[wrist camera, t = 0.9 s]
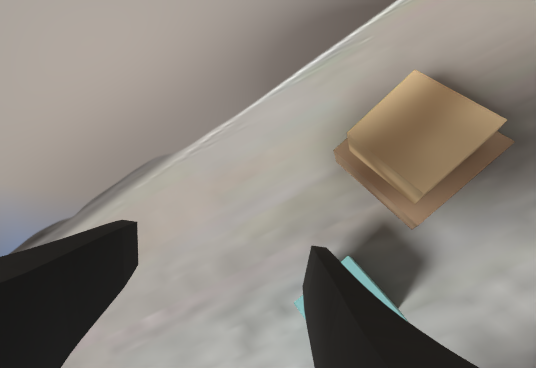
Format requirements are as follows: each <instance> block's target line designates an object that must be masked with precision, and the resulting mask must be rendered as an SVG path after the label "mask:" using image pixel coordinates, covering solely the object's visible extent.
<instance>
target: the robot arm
mask: <svg viewBox="0 0 536 368" xmlns="http://www.w3.org/2000/svg"><path fill="white" fill-rule="evenodd" d="M137 266H138V237H137V222H134V221H127V220H119V221H115V222H112V223H108V224H105V225H102V226H99V227H96V228H93V229H90V230H87V231H84V232H81V233H78V234H75V235H72V236H69V237H66V238H63V239H60V240H57V241H53V242H50V243H47V244H44V245H40V246H37V247H34V248H31V249H27V250H24V251H20V252H17V253H13V254H9V255H5V256H2V257H0V368H61V366H62V365H63V364H64V362H65V361H66V359H67V358H68V356H69V355H70V353H71V352H72V351H73V349H74V348H75V347H76V346H77V344H78V343H79V342H80V340H81V339H82V338H83V337H84V335H85V334H86V333H87V332H88V331H89V329H90V328H91V327H92V326H93V325H94V323H95V322H96V321H97V320H98V318H99V317H100V316H101V315H102V314H103V312H104V311H105V310H106V309H107V308H108V306H109V305H110V304H111V303H112V302H113V300H114V299H115V298H116V297H117V295H118V294H119V293H120V292H121V290H122V289H123V288H124V287H125V285H126V284H127V282H128V280H129V279H130V277H131V276H132V274H133V272H134V271H135V269H136V267H137ZM303 301H304V312H305V318H306V323H307V329H308V334H309V340H310V345H311V350H312V355H313V361H314V366H315V368H479V367H477V366H475V365H474V364H472V363H470V362H469V361H467V360H465V359H463V358H462V357H460V356H458V355H457V354H455V353H454V352H452V351H450V350H449V349H447V348H446V347H444V346H442V345H441V344H439V343H438V342H436V341H435V340H433V339H432V338H430V337H429V336H427V335H426V334H424V333H423V332H422V331H420V330H419V329H417V328H416V327H414V326H413V325H412V324H410V323H409V322H407V321H406V320H405V319H403V318H402V317H401V316H400V315H398V314H397V313H396V312H394V311H393V310H392V309H391V308H389V307H388V306H387V305H386V304H384V303H383V302H382V301H381V300H380V299H378V298H377V297H376V296H375V295H374V294H373V293H372V292H371V291H369V290H368V289H367V288H366V287H365V286H364V285H363V284H362V283H361V282H360V281H359V280H358V279H357V278H356V277H355V276H354V275H353V274H352V273H351V272H350V271H349V270H348V269H347V268H346V267H345V266H344V265H343V264H342V263H341V262H340V261H339V260H338V259H337V258H336V257H335V256H334V255H333V254H332V253H331V252H330V251H329V250H328V249H327V248H325V247H318V246H311V251H310V255H309V260H308V265H307V269H306V274H305V278H304V283H303Z"/></svg>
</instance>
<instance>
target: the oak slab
mask: <svg viewBox="0 0 536 368" xmlns="http://www.w3.org/2000/svg"><path fill="white" fill-rule="evenodd" d="M506 121H507V119H505V118H503V117H501V116H499V115H497V114H496V113H494V112H492V111H490V110H488V109H486V108H485V107H483V106H481V105H479V104H477V103H475V102H474V101H472V100H470V99H468V98H466V97H464V96H463V95H461V94H459V93H457V92H455V91H453V90H452V89H450V88H448V87H446V86H444V85H442V84H441V83H439V82H437V81H435V80H433V79H432V78H430V77H428V76H426V75H424V74H422V73H421V72H419V71H417V70H414V71H413V72H412V73H410V74H409V75H408V76H407V77H406V78H405V79H404V80H403V81H402V82H401V83H400V84H399V85H398V86H397V87H395V88H394V89H393V90H392V91H391V92H390V93H389V94H388V95H387V96H386V97H385V98H384V99H383V100H381V101H380V102H379V103H378V104H377V105H376V106H375V107H374V108H373V109H372V110H371V111H370V112H369V113H368V114H366V115H365V116H364V117H363V118H362V119H361V120H360V121H359V122H358V123H357V124H356V125H355V126H354V127H353V128H351V129H350V130H349V131H348V132H347V137H348V144H349V150H350V151H351V152H352V153H353V154H354V155H356V156H357V157H358V158H359V159H360V160H361V161H363V162H364V163H365V164H366V165H367V166H369V167H370V168H371V169H372V170H374V171H375V172H376V173H377V174H378V175H380V176H381V177H382V178H383V179H384V180H386V181H387V182H388V183H389V184H390V185H392V186H393V187H394V188H395V189H396V190H398V191H399V192H400V193H401V194H402V195H404V196H405V197H406V198H407V199H408V200H410V201H411V202H412V203H413V204H414V205H415V204H416V203H417V202H418V201H420V200H421V199H422V198H423V197H424V196H425V195H426V194H428V193H429V192H430V191H431V190H432V189H433V188H434V187H435V186H437V185H438V184H439V183H440V182H441V181H442V180H443V179H445V178H446V177H447V176H448V175H449V174H450V173H451V172H452V171H454V170H455V169H456V168H457V167H458V166H459V165H460V164H462V163H463V162H464V161H465V160H466V159H467V158H468V157H469V156H471V155H472V154H473V153H474V152H475V151H476V150H477V149H479V148H480V147H481V146H482V145H483V144H484V143H485V142H486V141H487V140H488V139H489V138H490V137H491V136H492V135H493V134H494V133H495V132H496V131H497V130H498V129H499V128H500V127H501V126H502V125H503V124H504V123H505V122H506Z"/></svg>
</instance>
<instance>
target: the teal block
mask: <svg viewBox="0 0 536 368" xmlns="http://www.w3.org/2000/svg"><path fill="white" fill-rule="evenodd" d="M341 263H342V264H343V265H344V266H345V267H346V268H347V269H348V270H349V271H350V272H351V273H352V274H353V275H354V276H355V277H356V278H357V279H358V280H359V281H360V282H361V283H362V284H363V285H364V286H365V287H366V288H367V289H368V290H369V291H371V292H372V293H373V294H374V295H375V296H376V297H377V298H378V299H380V300H381V301H382V302H383V303H384V304H386V305H387V306H388V307H389V308H391V309H392V310H393V311H394V312H396V313H397V314H398V315H400V316H401V317H402V318H403V319H405V320H406V318H405V317H404V316H403V314H402V313H401V312H400V310H399V309H398V308H397V307H396V306H395V305H394V303H393V302H392V301H391V300H390V299H389V298H388V297H387V296H386V295H385V294H384V292H383V291H382V290H381V289H380V288H379V287H378V286H377V285H376V284H375V282H374V281H373V280H372V279H371V278H370V277H369V276H368V275H367V274H366V273H365V271H364V270H363V269H362V268H361V267H360V266H359V265H358V264H357V263H356V261H355V260H354V259H353V258H352V257H350V256H347V257H346V258H345V259H344V260H343V261H341ZM294 304H295V306H296V307H297V308H298V310H299V311H300V313H301V314H302V315H303V317H304V318H305V312H304V301H303V295H302V296H301V297H300V298H299V299H298V300H296V301H295V302H294ZM305 320H306V318H305ZM406 321H407V320H406ZM407 322H408V321H407Z"/></svg>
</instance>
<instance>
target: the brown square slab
mask: <svg viewBox="0 0 536 368" xmlns="http://www.w3.org/2000/svg"><path fill="white" fill-rule="evenodd" d="M514 142H515V141H513V140H511V139H510V138H508V137H506V136H504V135H503V134H501V133H499V132H498V131H496V132H495V133H494V134H493V135H492V136H491V137H490V138H489V139H488V140H487V141H486V142H485V143H484V144H483V145H482V146H481V147H480V148H479V149H477V150H476V151H475V152H474V153H473V154H472V155H471V156H469V157H468V158H467V159H466V160H465V161H464V162H463V163H462V164H460V165H459V166H458V167H457V168H456V169H455V170H454V171H452V172H451V173H450V174H449V175H448V176H447V177H446V178H445V179H443V180H442V181H441V182H440V183H439V184H438V185H437V186H435V187H434V188H433V189H432V190H431V191H430V192H429V193H428V194H426V195H425V196H424V197H423V198H422V199H421V200H420V201H418V202H417V203H416V204H415V205H414V204H413V203H412V202H411V201H410V200H408V199H407V198H406V197H405V196H404V195H402V194H401V193H400V192H399V191H398V190H396V189H395V188H394V187H393V186H392V185H390V184H389V183H388V182H387V181H386V180H384V179H383V178H382V177H381V176H380V175H378V174H377V173H376V172H375V171H374V170H372V169H371V168H370V167H369V166H367V165H366V164H365V163H364V162H363V161H361V160H360V159H359V158H358V157H357V156H356V155H354V154H353V153H352V152H351V151H350V150H349V144H348V138H346V139H345V140H344V141H343V142H342V143H341V144H340V145H339V146H338V147H337V148H336V149H334V150H333V151H334V154H335V158H336V162H337V163H338V164H339V165H341V166H342V167H343V168H344V169H345V170H346V171H347V172H348V173H349V174H351V175H352V176H353V177H354V178H355V179H356V180H357V181H358V182H359V183H361V184H362V185H363V186H364V187H365V188H366V189H367V190H368V191H369V192H371V193H372V194H373V195H374V196H375V197H376V198H377V199H378V200H379V201H381V202H382V203H383V204H384V205H385V206H386V207H387V208H388V209H389V210H391V211H392V212H393V213H394V214H395V215H396V216H397V217H398V218H399V219H401V220H402V221H403V222H404V223H405V224H406V225H407V226H408V227H409V228H411V229H414V228H415V227H416V226H418V225H419V224H420V223H422V222H423V221H424V220H425V219H426V218H427V217H429V216H430V215H431V214H432V213H433V212H434V211H435V210H437V209H438V208H439V207H440V206H441V205H442V204H444V203H445V202H446V201H447V200H448V199H449V198H451V197H452V196H453V195H454V194H455V193H456V192H458V191H459V190H460V189H461V188H462V187H463V186H464V185H466V184H467V183H468V182H469V181H470V180H471V179H473V178H474V177H475V176H476V175H477V174H478V173H480V172H481V171H482V170H483V169H484V168H485V167H487V166H488V165H489V164H490V163H491V162H492V161H493V160H495V159H496V158H497V157H498V156H499V155H500V154H502V153H503V152H504V151H505V150H506V149H507V148H509V147H510V146H511V145H512V144H513V143H514Z"/></svg>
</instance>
